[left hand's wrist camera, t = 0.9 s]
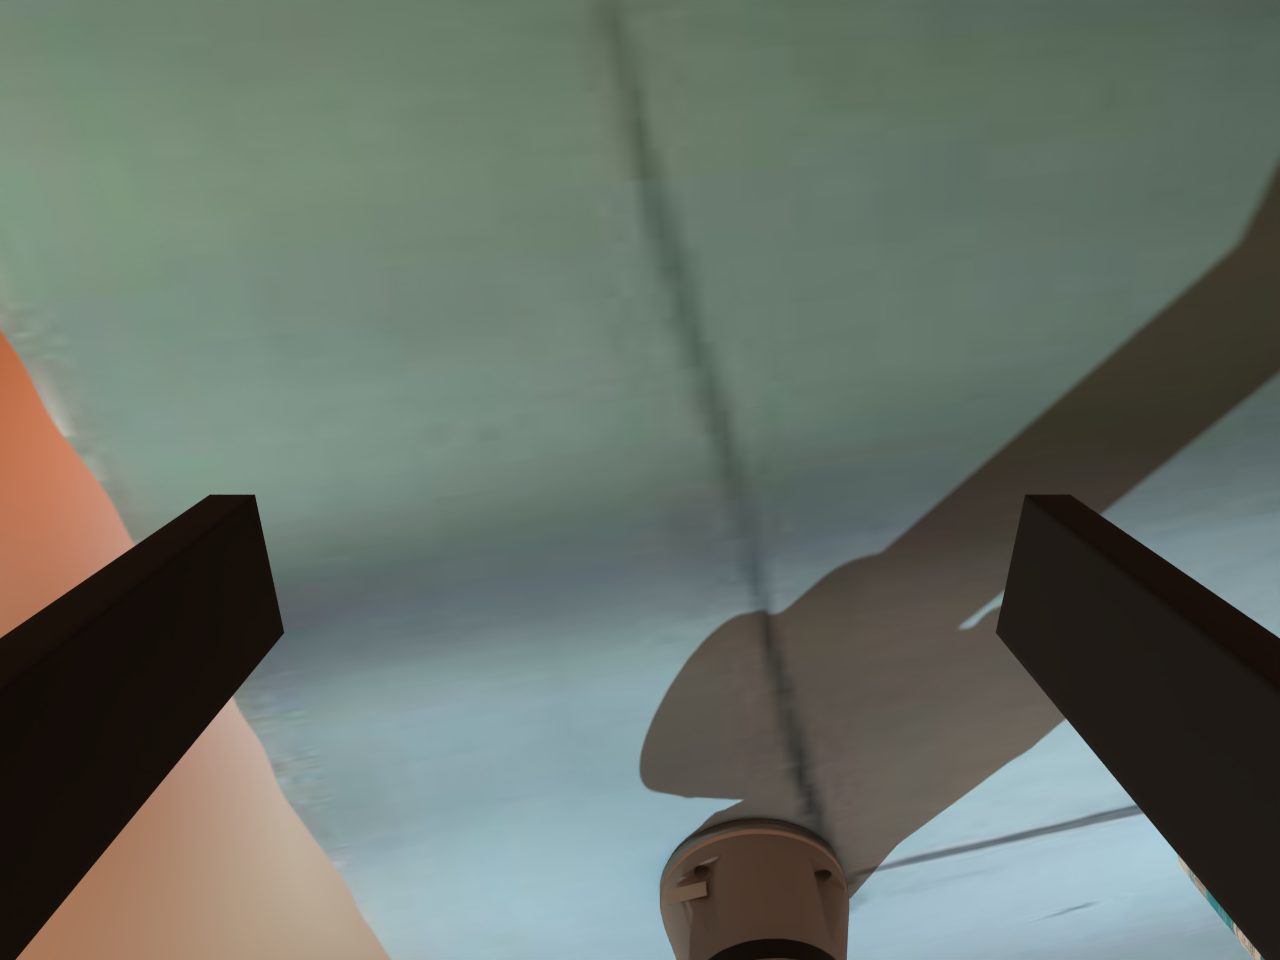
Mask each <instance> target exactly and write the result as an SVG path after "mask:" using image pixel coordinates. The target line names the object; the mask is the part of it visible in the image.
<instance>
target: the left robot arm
mask: <svg viewBox="0 0 1280 960" xmlns="http://www.w3.org/2000/svg"><path fill="white" fill-rule="evenodd" d="M283 634H284V630H283V625H282V620H281V616H280V611H279V606H278V601H277V597H276V592H275V587H274V583H273V578H272V573H271V568H270V564H269V559H268V554H267V550H266V545H265V540H264V536H263V531H262V526H261V521H260V517H259V512H258V507H257V503H256V498H255V495H209V496H207V497H206V498H204V499H203V500H201V501H200V502H199V503H197V504H196V505H194V506H193V507H191V508H190V509H188V510H187V511H185V512H184V513H183V514H181V515H180V516H178V517H177V518H175V519H174V520H172V521H171V522H169V523H168V524H166V525H165V526H164V527H162V528H161V529H159V530H158V531H156V532H155V533H153V534H152V535H150V536H149V537H147V538H146V539H145V540H143V541H142V542H140V543H139V544H137V545H136V546H134V547H133V548H131V549H130V550H129V551H127V552H126V553H124V554H123V555H121V556H120V557H118V558H117V559H115V560H114V561H113V562H111V563H110V564H108V565H107V566H105V567H104V568H102V569H101V570H99V571H98V572H96V573H95V574H94V575H92V576H91V577H89V578H88V579H86V580H85V581H83V582H82V583H80V584H79V585H77V586H76V587H75V588H73V589H72V590H70V591H69V592H67V593H66V594H64V595H63V596H61V597H60V598H59V599H57V600H56V601H54V602H53V603H51V604H50V605H48V606H47V607H45V608H44V609H42V610H41V611H40V612H38V613H37V614H35V615H34V616H32V617H31V618H29V619H28V620H26V621H25V622H24V623H22V624H21V625H19V626H18V627H16V628H15V629H13V630H12V631H10V632H9V633H7V634H6V635H4V636H3V637H2V638H0V960H16V958H17V957H18V956H19V955H20V954H21V952H22V951H23V950H24V949H25V947H26V946H27V945H28V944H29V943H30V941H31V940H32V939H33V938H34V936H35V935H36V934H37V933H38V932H39V930H40V929H41V928H42V927H43V926H44V924H45V923H46V922H47V921H48V920H49V918H50V917H51V916H52V915H53V913H54V912H55V911H56V910H57V909H58V907H59V906H60V905H61V904H62V902H63V901H64V900H65V899H66V898H67V896H68V895H69V894H70V893H71V892H72V890H73V889H74V888H75V887H76V885H77V884H78V883H79V882H80V881H81V879H82V878H83V877H84V876H85V874H86V873H87V872H88V871H89V870H90V868H91V867H92V866H93V865H94V864H95V862H96V861H97V860H98V859H99V857H100V856H101V855H102V854H103V853H104V851H105V850H106V849H107V848H108V846H109V845H110V844H111V843H112V842H113V840H114V839H115V838H116V837H117V836H118V834H119V833H120V832H121V831H122V829H123V828H124V827H125V826H126V825H127V823H128V822H129V821H130V820H131V818H132V817H133V816H134V815H135V814H136V812H137V811H138V810H139V809H140V808H141V806H142V805H143V804H144V803H145V802H146V800H147V799H148V798H149V797H150V795H151V794H152V793H153V792H154V791H155V789H156V788H157V787H158V786H159V784H160V783H161V782H162V781H163V780H164V778H165V777H166V776H167V775H168V773H169V772H170V771H171V770H172V769H173V767H174V766H175V765H176V764H177V763H178V761H179V760H180V759H181V758H182V756H183V755H184V754H185V753H186V752H187V750H188V749H189V748H190V747H191V746H192V744H193V743H194V742H195V741H196V739H197V738H198V737H199V736H200V735H201V733H202V732H203V731H204V730H205V729H206V727H207V726H208V725H209V724H210V722H211V721H212V720H213V719H214V718H215V716H216V715H217V714H218V713H219V711H220V710H221V709H222V708H223V707H224V705H225V704H226V703H227V702H228V701H229V699H230V698H231V697H232V696H233V694H234V693H235V692H236V691H237V690H238V688H239V687H240V686H241V685H242V684H243V682H244V681H245V680H246V679H247V677H248V676H249V675H250V674H251V673H252V671H253V670H254V669H255V668H256V666H257V665H258V664H259V663H260V662H261V660H262V659H263V658H264V657H265V656H266V654H267V653H268V652H269V651H270V649H271V648H272V647H273V646H274V645H275V643H276V642H277V641H278V640H279V639H280V637H281V636H282V635H283ZM996 634H997V635H998V636H999V637H1000V639H1001V640H1002V641H1003V642H1004V643H1005V645H1006V646H1007V647H1008V648H1009V649H1010V651H1011V652H1012V653H1013V654H1014V656H1015V657H1016V658H1017V659H1018V660H1019V662H1020V663H1021V664H1022V665H1023V666H1024V668H1025V669H1026V670H1027V671H1028V673H1029V674H1030V675H1031V676H1032V677H1033V679H1034V680H1035V681H1036V682H1037V684H1038V685H1039V686H1040V687H1041V688H1042V690H1043V691H1044V692H1045V693H1046V694H1047V696H1048V697H1049V698H1050V699H1051V701H1052V702H1053V703H1054V704H1055V705H1056V707H1057V708H1058V709H1059V710H1060V711H1061V713H1062V714H1063V715H1064V716H1065V718H1066V719H1067V720H1068V721H1069V722H1070V724H1071V725H1072V726H1073V727H1074V729H1075V730H1076V731H1077V732H1078V733H1079V735H1080V736H1081V737H1082V738H1083V739H1084V741H1085V742H1086V743H1087V744H1088V746H1089V747H1090V748H1091V749H1092V750H1093V752H1094V753H1095V754H1096V755H1097V756H1098V758H1099V759H1100V760H1101V761H1102V763H1103V764H1104V765H1105V766H1106V767H1107V769H1108V770H1109V771H1110V772H1111V774H1112V775H1113V776H1114V777H1115V778H1116V780H1117V781H1118V782H1119V783H1120V784H1121V786H1122V787H1123V788H1124V789H1125V791H1126V792H1127V793H1128V794H1129V795H1130V797H1131V798H1132V799H1133V800H1134V802H1135V803H1136V804H1137V805H1138V806H1139V808H1140V809H1141V810H1142V811H1143V812H1144V814H1145V815H1146V816H1147V817H1148V819H1149V820H1150V821H1151V822H1152V823H1153V825H1154V826H1155V827H1156V828H1157V829H1158V831H1159V832H1160V833H1161V834H1162V836H1163V837H1164V838H1165V839H1166V840H1167V842H1168V843H1169V844H1170V845H1171V847H1172V848H1173V849H1174V850H1175V851H1176V853H1177V854H1178V855H1179V856H1180V857H1181V859H1182V860H1183V861H1184V862H1185V864H1186V865H1187V866H1188V867H1189V868H1190V870H1191V871H1192V872H1193V873H1194V874H1195V876H1196V877H1197V878H1198V879H1199V881H1200V882H1201V883H1202V884H1203V885H1204V887H1205V888H1206V889H1207V890H1208V892H1209V893H1210V894H1211V895H1212V896H1213V898H1214V899H1215V900H1216V901H1217V902H1218V904H1219V905H1220V906H1221V907H1222V909H1223V910H1224V911H1225V912H1226V913H1227V915H1228V916H1229V917H1230V918H1231V920H1232V921H1233V922H1234V923H1235V924H1236V926H1237V927H1238V928H1239V929H1240V930H1241V932H1242V933H1243V934H1244V935H1245V937H1246V938H1247V939H1248V940H1249V941H1250V943H1251V944H1252V945H1253V946H1254V947H1255V949H1256V950H1257V951H1258V952H1259V954H1260V955H1261V956H1262V957H1263V958H1264V960H1280V638H1278V637H1277V636H1276V635H1274V634H1273V633H1271V632H1270V631H1268V630H1267V629H1265V628H1264V627H1262V626H1261V625H1259V624H1258V623H1257V622H1255V621H1254V620H1252V619H1251V618H1249V617H1248V616H1246V615H1245V614H1243V613H1242V612H1240V611H1239V610H1238V609H1236V608H1235V607H1233V606H1232V605H1230V604H1229V603H1227V602H1226V601H1224V600H1223V599H1222V598H1220V597H1219V596H1217V595H1216V594H1214V593H1213V592H1211V591H1210V590H1208V589H1207V588H1205V587H1204V586H1203V585H1201V584H1200V583H1198V582H1197V581H1195V580H1194V579H1192V578H1191V577H1189V576H1188V575H1187V574H1185V573H1184V572H1182V571H1181V570H1179V569H1178V568H1176V567H1175V566H1173V565H1172V564H1170V563H1169V562H1168V561H1166V560H1165V559H1163V558H1162V557H1160V556H1159V555H1157V554H1156V553H1154V552H1153V551H1151V550H1150V549H1149V548H1147V547H1146V546H1144V545H1143V544H1141V543H1140V542H1138V541H1137V540H1135V539H1134V538H1133V537H1131V536H1130V535H1128V534H1127V533H1125V532H1124V531H1122V530H1121V529H1119V528H1118V527H1116V526H1115V525H1114V524H1112V523H1111V522H1109V521H1108V520H1106V519H1105V518H1103V517H1102V516H1100V515H1099V514H1097V513H1096V512H1095V511H1093V510H1092V509H1090V508H1089V507H1087V506H1086V505H1084V504H1083V503H1081V502H1080V501H1079V500H1077V499H1076V498H1074V497H1073V496H1071V495H1025V498H1024V503H1023V507H1022V512H1021V517H1020V521H1019V526H1018V531H1017V536H1016V540H1015V545H1014V550H1013V554H1012V559H1011V564H1010V568H1009V573H1008V578H1007V583H1006V587H1005V592H1004V597H1003V601H1002V606H1001V611H1000V616H999V620H998V625H997V630H996ZM660 908H661V914H662V919H663V924H664V927H665V930H666V933H667V936H668V938H669V941H670V944H671V946H672V949H673V951H674V954H675V957H676V959H677V960H847V941H848V921H849V896H848V888H847V883H846V880H845V876H844V873H843V870H842V866H841V864H840V861H839V859H838V858H837V856H836V854H835V853H834V851H833V850H832V849H831V848H830V847H829V846H828V845H827V844H826V843H825V842H824V841H823V840H822V839H821V838H819V837H818V836H816V835H815V834H813V833H811V832H809V831H808V830H806V829H803V828H801V827H799V826H796V825H793V824H789V823H785V822H781V821H775V820H765V819H749V820H739V821H733V822H728V823H724V824H721V825H717V826H714V827H712V828H709V829H707V830H705V831H703V832H701V833H699V834H697V835H695V836H694V837H692V838H691V839H689V840H688V841H686V842H685V843H684V844H683V845H682V846H680V847H679V848H678V849H677V850H676V852H675V853H674V854H673V855H672V856H671V858H670V859H669V861H668V862H667V864H666V866H665V868H664V870H663V873H662V876H661V881H660Z"/></svg>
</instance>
